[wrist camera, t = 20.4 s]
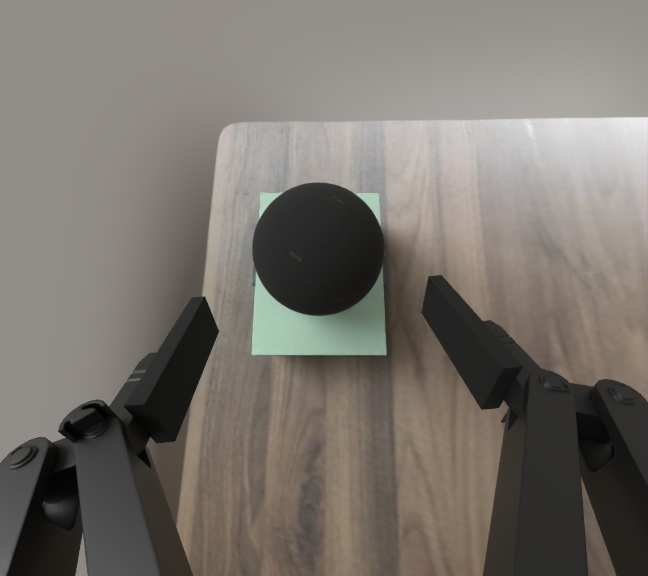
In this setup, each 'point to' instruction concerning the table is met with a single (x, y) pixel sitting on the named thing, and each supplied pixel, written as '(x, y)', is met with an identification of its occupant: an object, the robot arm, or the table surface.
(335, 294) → the speaker
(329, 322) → the box
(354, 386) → the table surface
